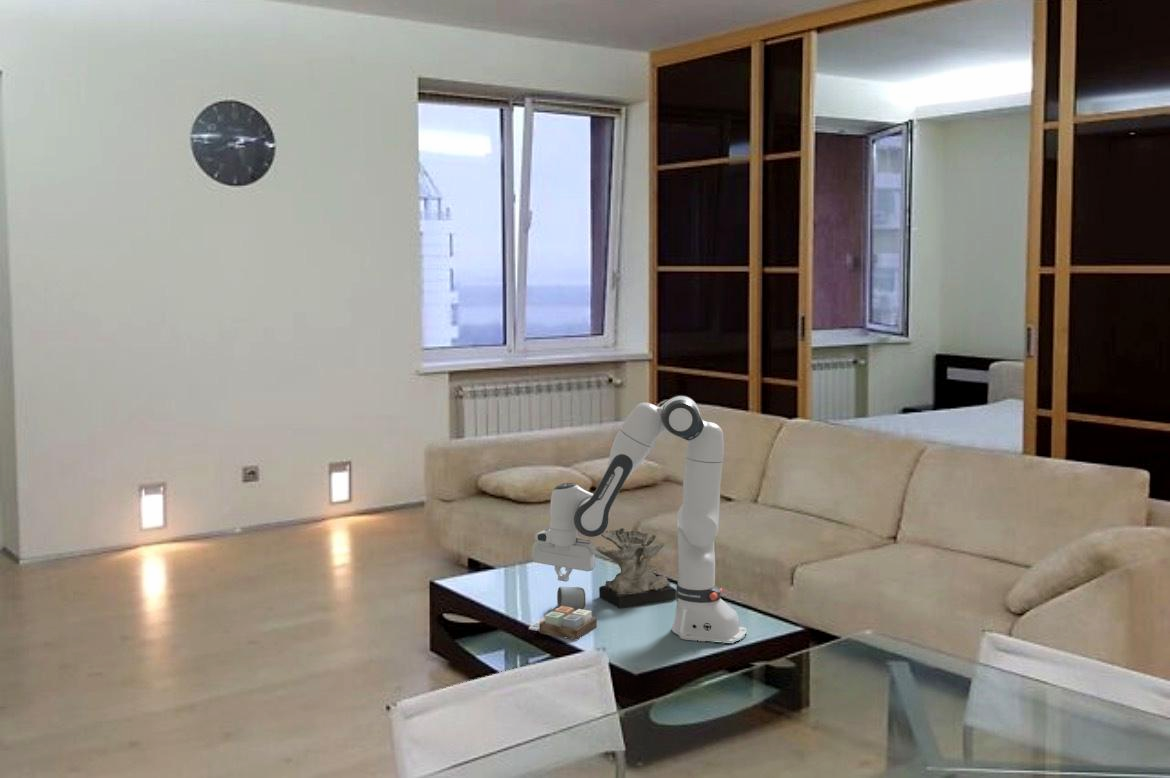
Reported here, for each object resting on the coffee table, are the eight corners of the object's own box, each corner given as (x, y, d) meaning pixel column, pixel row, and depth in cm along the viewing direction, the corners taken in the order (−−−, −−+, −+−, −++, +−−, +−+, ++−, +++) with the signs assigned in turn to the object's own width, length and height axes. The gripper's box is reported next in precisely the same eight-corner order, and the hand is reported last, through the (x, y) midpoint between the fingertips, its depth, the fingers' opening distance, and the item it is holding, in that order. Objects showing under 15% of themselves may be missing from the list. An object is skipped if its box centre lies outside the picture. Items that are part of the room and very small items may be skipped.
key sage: (564, 624, 350) (564, 613, 349) (557, 629, 346) (557, 617, 345) (551, 622, 352) (552, 610, 351) (544, 626, 348) (544, 614, 347)
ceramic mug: (586, 612, 367) (586, 588, 366) (561, 614, 365) (561, 590, 364) (578, 603, 377) (578, 579, 376) (554, 604, 375) (554, 581, 374)
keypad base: (596, 627, 353) (596, 617, 353) (577, 640, 342) (577, 630, 341) (559, 620, 359) (559, 611, 358) (539, 633, 347) (539, 623, 347)
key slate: (582, 627, 347) (582, 616, 346) (575, 632, 343) (575, 620, 343) (569, 625, 349) (569, 613, 348) (562, 629, 345) (562, 618, 345)
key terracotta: (574, 619, 355) (574, 607, 354) (567, 623, 351) (567, 611, 351) (561, 616, 357) (561, 605, 356) (554, 621, 353) (554, 609, 353)
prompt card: (552, 621, 358) (552, 618, 358) (536, 630, 349) (536, 628, 349) (544, 619, 360) (544, 617, 359) (528, 629, 351) (528, 626, 351)
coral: (609, 610, 369) (609, 545, 367) (581, 593, 387) (582, 530, 385) (677, 600, 380) (678, 536, 377) (647, 583, 398) (648, 522, 395)
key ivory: (591, 622, 352) (591, 610, 352) (584, 626, 348) (584, 614, 348) (578, 619, 354) (578, 608, 354) (571, 624, 350) (571, 612, 350)
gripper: (599, 538, 349) (598, 583, 351) (540, 529, 358) (539, 573, 360) (590, 543, 343) (588, 588, 345) (530, 534, 352) (529, 578, 354)
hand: (563, 580), depth 352 cm, fingers closed
